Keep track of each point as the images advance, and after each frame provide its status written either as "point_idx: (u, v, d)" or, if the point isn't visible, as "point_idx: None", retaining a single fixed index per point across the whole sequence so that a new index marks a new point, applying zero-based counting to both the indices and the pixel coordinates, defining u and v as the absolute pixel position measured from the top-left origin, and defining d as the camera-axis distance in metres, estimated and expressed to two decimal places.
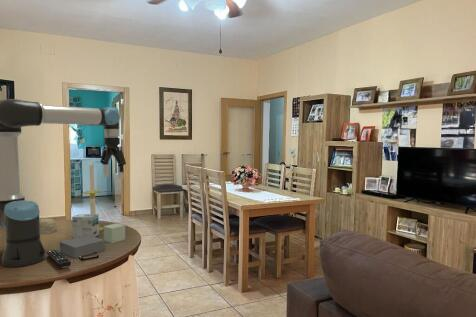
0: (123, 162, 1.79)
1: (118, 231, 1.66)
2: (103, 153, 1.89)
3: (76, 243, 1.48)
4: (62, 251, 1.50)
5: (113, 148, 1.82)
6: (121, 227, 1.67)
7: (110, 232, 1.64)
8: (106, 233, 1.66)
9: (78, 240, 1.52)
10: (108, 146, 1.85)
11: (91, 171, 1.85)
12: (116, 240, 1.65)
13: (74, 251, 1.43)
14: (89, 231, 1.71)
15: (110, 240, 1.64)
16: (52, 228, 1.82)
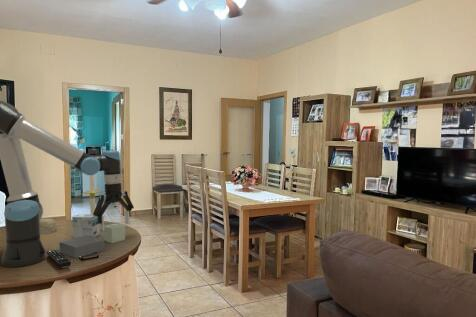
0: (94, 213, 1.60)
1: (118, 231, 1.66)
2: None
3: (76, 243, 1.48)
4: (62, 251, 1.49)
5: None
6: (121, 227, 1.67)
7: (110, 232, 1.64)
8: (106, 233, 1.66)
9: (78, 240, 1.52)
10: None
11: None
12: (116, 240, 1.65)
13: (74, 251, 1.43)
14: (89, 231, 1.71)
15: (110, 240, 1.64)
16: (52, 228, 1.82)
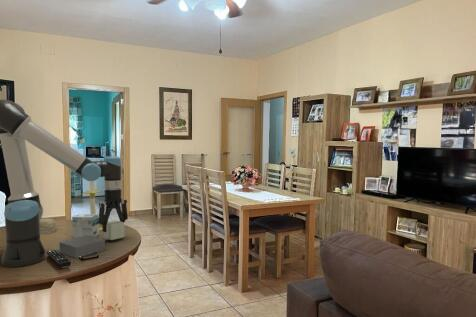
0: (99, 222, 1.62)
1: (117, 228, 1.66)
2: (122, 207, 1.73)
3: (77, 243, 1.48)
4: (62, 251, 1.49)
5: None
6: (120, 224, 1.67)
7: (109, 229, 1.64)
8: None
9: (78, 240, 1.52)
10: None
11: None
12: (115, 237, 1.65)
13: (75, 251, 1.43)
14: (89, 231, 1.71)
15: (109, 237, 1.64)
16: (52, 228, 1.82)
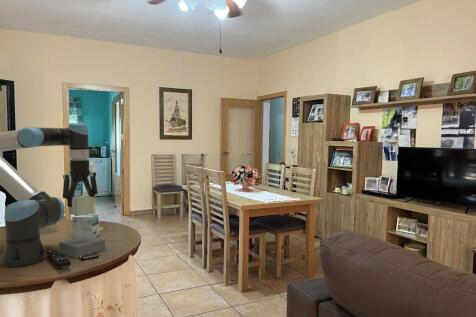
0: (64, 195, 1.45)
1: (84, 203, 1.48)
2: (91, 180, 1.55)
3: (77, 243, 1.48)
4: (62, 251, 1.49)
5: None
6: (88, 199, 1.50)
7: (75, 204, 1.46)
8: None
9: (78, 240, 1.52)
10: None
11: (91, 171, 1.85)
12: (82, 213, 1.48)
13: (75, 251, 1.43)
14: (89, 231, 1.71)
15: (75, 213, 1.47)
16: (52, 228, 1.82)
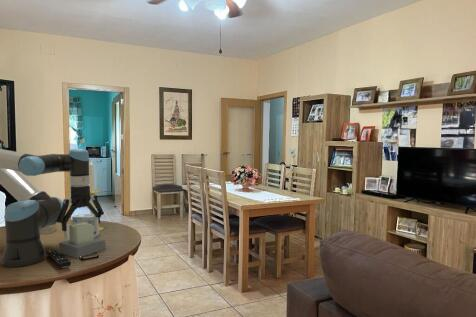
0: (58, 220, 1.43)
1: (85, 231, 1.49)
2: (94, 203, 1.57)
3: None
4: (62, 251, 1.49)
5: None
6: (89, 227, 1.50)
7: (76, 232, 1.47)
8: (72, 233, 1.49)
9: None
10: None
11: (91, 171, 1.85)
12: (83, 241, 1.48)
13: (76, 251, 1.43)
14: None
15: (76, 241, 1.47)
16: (52, 228, 1.82)
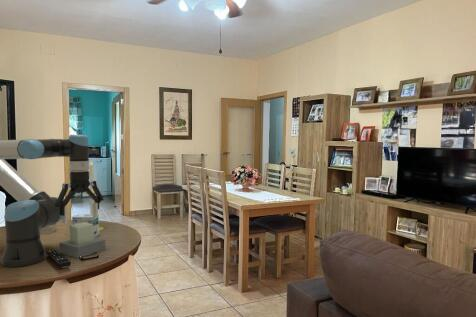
0: (56, 204, 1.43)
1: (85, 231, 1.49)
2: None
3: None
4: (62, 251, 1.49)
5: None
6: (89, 226, 1.50)
7: (76, 232, 1.47)
8: (72, 233, 1.49)
9: None
10: None
11: (91, 171, 1.85)
12: (83, 241, 1.48)
13: (76, 251, 1.43)
14: None
15: (76, 241, 1.47)
16: (52, 228, 1.82)
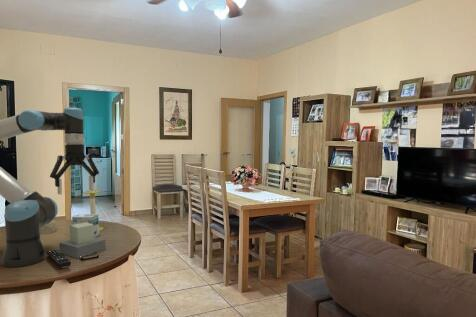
0: (51, 175, 1.46)
1: (85, 231, 1.49)
2: (89, 162, 1.59)
3: None
4: (62, 251, 1.49)
5: None
6: (89, 227, 1.50)
7: (76, 232, 1.47)
8: (73, 233, 1.49)
9: None
10: None
11: None
12: (83, 241, 1.48)
13: (76, 251, 1.43)
14: None
15: (76, 241, 1.48)
16: (52, 228, 1.82)
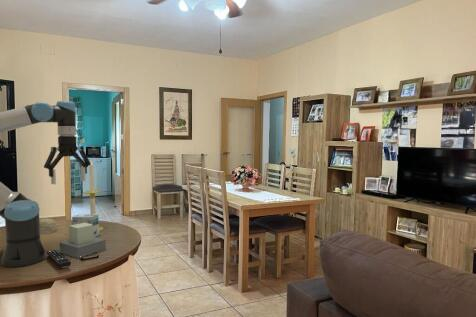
0: (45, 165, 1.52)
1: (85, 231, 1.49)
2: (81, 154, 1.66)
3: None
4: (62, 251, 1.49)
5: None
6: (89, 227, 1.50)
7: (76, 232, 1.47)
8: (72, 233, 1.49)
9: None
10: None
11: (91, 171, 1.85)
12: (83, 241, 1.48)
13: (76, 251, 1.43)
14: None
15: (76, 241, 1.47)
16: (52, 228, 1.82)
